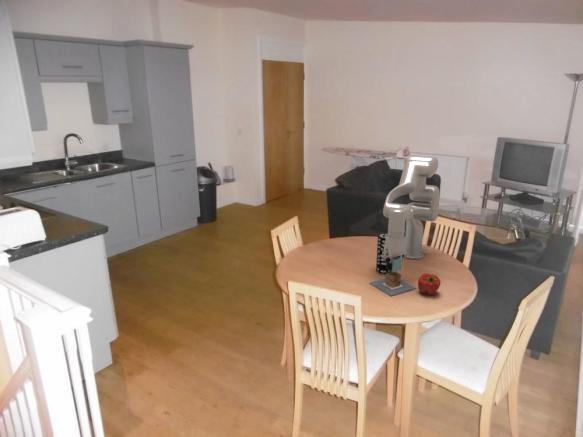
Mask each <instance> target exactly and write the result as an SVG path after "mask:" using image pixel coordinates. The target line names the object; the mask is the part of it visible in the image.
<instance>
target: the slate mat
mask: <svg viewBox="0 0 583 437" xmlns="http://www.w3.org/2000/svg"><path fill="white" fill-rule="evenodd" d="M369 284H370V285H372V286H373V287H375V288H376V289H378V290H380V292H383V293H385V294H386V295H388V296H389V297H394V296H397V295H401V294H404V293H408V292H410V291H414V290H417V287H416V286H414V285H412V284H410V283H409V282H407V281H405V280H403V279H401V282H400V286H397V287H394V288H392V287H390V286H388V285H386V277H384V278H380V279H378V280H373V281H370V282H369Z"/></svg>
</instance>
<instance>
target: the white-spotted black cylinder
mask: <svg viewBox="0 0 583 437" xmlns="http://www.w3.org/2000/svg"><path fill="white" fill-rule="evenodd" d="M387 236H388V232H387V233H379V234H378V235H377V244H376V245H377V246H376V263H375V264H376V265H375V271H376V273H378V274H380V275H386V273H388V272H392V271H389V270H387V269H386V267H387V262H386V261H385V260H384V259H383V258H382V256H383V255H384V244H385V240H386V237H387Z"/></svg>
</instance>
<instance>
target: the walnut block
mask: <svg viewBox="0 0 583 437" xmlns="http://www.w3.org/2000/svg"><path fill="white" fill-rule="evenodd" d="M385 278H386V285H388V286H390V287H392V288H394V287H397V286H400V282H401V280H402V279H401V278H402V274H400V273H399V272H398V271H397V272H388V273H386V274H385Z"/></svg>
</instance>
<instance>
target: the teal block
mask: <svg viewBox="0 0 583 437" xmlns="http://www.w3.org/2000/svg"><path fill="white" fill-rule="evenodd" d="M389 260H390V258H389ZM402 262H403V260H402V259H401V258H399V257H393V259H392V262H391V263H392V272H397V273H398V272H400V271H402V265H403V264H402ZM386 269H387V267H386Z"/></svg>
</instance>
